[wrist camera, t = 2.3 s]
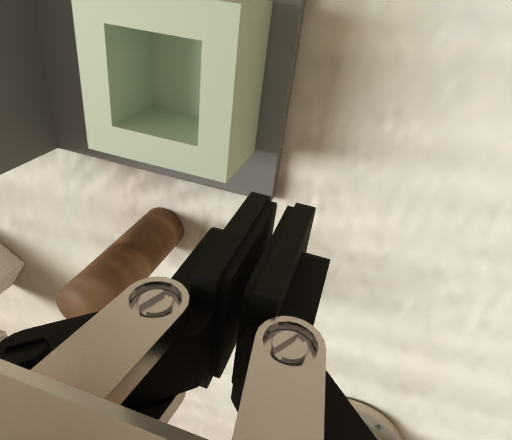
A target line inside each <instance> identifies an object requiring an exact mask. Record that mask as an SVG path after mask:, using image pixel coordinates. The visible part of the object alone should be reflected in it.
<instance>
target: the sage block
mask: <svg viewBox="0 0 512 440" xmlns="http://www.w3.org/2000/svg"><path fill="white" fill-rule="evenodd" d="M71 3H72V11H73V20H74V29H75V37H76V46H77V55H78V63H79V72H80V81H81V89H82V98H83V107H84V115H85V124H86V133H87V141H88V149H92V150H96V151H100V152H104V153H108V154H112V155H116V156H120V157H124V158H128V159H132V160H136V161H140V162H144V163H148V164H152V165H156V166H160V167H164V168H168V169H172V170H176V171H180V172H183V173H187V174H191V175H195V176H199V177H203V178H207V179H211V180H215V181H219V182H223V183H226V182H227V181H228V180H229V179H230V178H231V177H232V176H233V175H234V174H235V172H236V171H237V170H238V169H239V168H240V167H241V166H242V165H243V163H244V162H245V161H246V160H247V159H248V158H249V157H250V156H251V155H252V153H253V152H254V151H255V144H256V136H257V127H258V119H259V111H260V103H261V94H262V86H263V78H264V70H265V61H266V53H267V45H268V37H269V28H270V20H271V12H272V4H273V1H271V0H71Z"/></svg>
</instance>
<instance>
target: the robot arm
mask: <svg viewBox="0 0 512 440" xmlns="http://www.w3.org/2000/svg"><path fill="white" fill-rule="evenodd" d="M276 209H277V203H275V202H271V196H268V195H264V194H260V193H256V192H251V193H250V194H249V196H248V197H247V198H246V200H245V201H244V202H243V204H242V205H241V207H240V208H239V209H238V211H237V212H236V213H235V215H234V216H233V217H232V219H231V220H230V222H229V223H228V224H227V226H226V227H225V228H224V230H222V229H218V228H215V227H213V228H211V229H210V230H209V231H208V232H207V234H206V235H205V236H204V237H203V239H202V240H201V241H200V242H199V244H198V245H197V246H196V248H195V249H194V250H193V251H192V253H191V254H190V255H189V256H188V258H187V259H186V260H185V261H184V263H183V264H182V265H181V267H180V268H179V269H178V270H177V272H176V273H175V274H174V275H173V277H172V278H171V279H170V278H167V277H150V278H145V279H142V280H139V281H137V282H135V283H133V284H132V285H130V286H129V287H128V288H126V289H125V290H124V291H123V292H122V293H121V294H119V295H118V296H117V297H116V298H115V299H113V300H112V301H111V302H110V303H109V304H108V305H106V306H105V307H104V308H103V309H102V310H101V311H97V312H93V313H89V314H85V315H81V316H77V317H73V318H69V319H65V320H61V321H57V322H53V323H49V324H45V325H41V326H37V327H33V328H29V329H25V330H22V331H19V332H17V333H14V334H12V335H10V336H9V337H8V336H7V334H6V331H1V330H0V440H208V439H205V438H203V437H200V436H197V435H195V434H192V433H190V432H187V431H185V430H182V429H180V428H177V427H175V426H172V425H169V424H167V423H168V421H169V420H170V419H171V417H172V416H173V414H174V413H175V412H176V410H177V409H178V407H179V406H180V404H181V403H182V401H183V399H184V397H185V393H186V391H188V390H191V389H194V388H197V387H198V386H201V387H204V388H206V389H207V388H208V386H209V384H210V382H211V379H212V377H213V376H214V377H217V378H220V377H221V375H222V373H223V371H224V369H225V367H226V365H227V362H228V360H229V358H230V356H231V354H232V352H233V349H234V347H235V345H236V352H235V359H234V367H233V374H232V383H233V387H232V395H231V400H232V402H233V404H234V406H235V408H236V410H237V412H238V415H237V419H236V424H235V428H234V433H233V437H232V440H402V439H401V436H400V434H399V432H398V430H397V429H396V427H395V426H394V425H393V424H392V423H391V422H390V421H389V420H388V419H387V418H386V417H385V416H384V415H382V414H381V413H379V412H378V411H376V410H375V409H373V408H371V407H369V406H367V405H365V404H363V403H360V402H357V401H354V400H352V399H347V398H346V396H345V395H344V394H343V392H342V391H341V390H340V388H339V387H338V386H337V384H336V383H335V381H334V380H333V379H332V377H331V376H330V375H329V373H328V372H327V371H326V347H325V341H324V339H323V337H322V336H321V334H320V332H319V331H318V330H317V329H316V328H315V327H314V326H313V325H314V321H315V317H316V313H317V310H318V306H319V302H320V298H321V294H322V290H323V286H324V282H325V279H326V275H327V271H328V267H329V263H330V259H327V258H323V257H320V256H316V255H312V254H309V253H306V250H307V245H308V241H309V236H310V232H311V228H312V223H313V219H314V214H315V209H316V207H312V206H308V205H304V204H300V203H296V204H295V206H294V207H291V206H287V208H286V210H285V212H284V214H283V216H282V218H281V219H280V221H279V223H278V225H277V227H276V229H275V231H274V233H273V227H274V221H275V215H276ZM272 233H273V235H272ZM236 343H237V344H236Z"/></svg>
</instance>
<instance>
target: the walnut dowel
mask: <svg viewBox="0 0 512 440" xmlns="http://www.w3.org/2000/svg"><path fill="white" fill-rule="evenodd" d="M183 234H184V229H183V225H182V223H181V221H180V219H179V218H178V217H177V216H176V215H175V214H174V213H173V212H171V211H170V210H168V209H165V208H154V209H151V210H150V211H149V212H148V213H147V214H146V215H144V216H143V217H142V218H141V219H140V220H139V221H138V222H136V223H135V224H134V225H133V226H132V227H131V228H130V229H129V230H127V231H126V232H125V233H124V234H123V235H122V236H121V237H120V238H118V239H117V240H116V241H115V242H114V243H113V244H112V245H111V246H109V247H108V248H107V249H106V250H105V251H104V252H103V253H102V254H100V255H99V256H98V257H97V258H96V259H95V260H94V261H93V262H91V263H90V264H89V265H88V266H87V267H86V268H85V269H84V270H82V271H81V272H80V273H79V274H78V275H77V276H76V277H75V278H73V279H72V280H71V281H70V282H69V283H68V284H67V285H66V286H64V287H63V288H62V289H61V290H60V291H59V292H58V294H57V297H56V300H57V305H58V307H59V309H60V311H61V313H62V314H63V315H64V317H65V318H66V319H69V318H73V317H77V316H81V315H85V314H89V313H93V312H97V311H101V310H102V309H103V308H104V307H105V306H106V305H108V304H109V303H110V302H111V301H112V300H113V299H115V298H116V297H117V296H118V295H119V294H121V293H122V292H123V291H124V290H125V289H126V288H128V287H129V286H130V285H132V284H133V283H135V282H137V281H139V280H142V279H145V278H148V277H149V276H150V275H151V273H152V272H153V271H154V270H155V269H156V268H157V267H158V265H159V264H160V263H161V262H162V261H163V260H164V259H165V257H166V256H167V255H168V254H169V253H170V252H171V251H172V249H173V248H174V247H175V246H176V245H177V244H178V242H179V241H180V240H181V239H182V237H183Z"/></svg>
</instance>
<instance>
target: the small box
mask: <svg viewBox="0 0 512 440" xmlns="http://www.w3.org/2000/svg"><path fill="white" fill-rule="evenodd" d="M24 264H25V263H24V262H23V261H22V260H21V259H19V258H18V257H17V256H16V255H14V254H13V253H12V252H11V251H9V250H8V249H7V248H6V247H5V246H3V245H2V244H1V243H0V294H1V293H3V292H4V291H5V290H7V289H8V288H9V287H10V286H12V284H13V283H14V281H15V279H16V278H17V276H18V274H19V273H20V271H21V269H22V268H23V266H24Z"/></svg>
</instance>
